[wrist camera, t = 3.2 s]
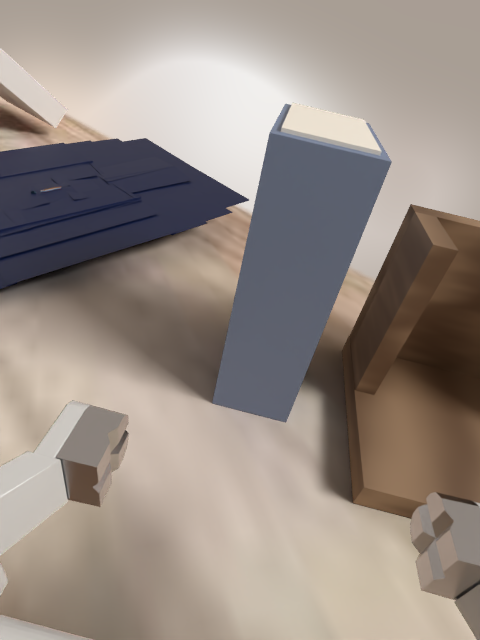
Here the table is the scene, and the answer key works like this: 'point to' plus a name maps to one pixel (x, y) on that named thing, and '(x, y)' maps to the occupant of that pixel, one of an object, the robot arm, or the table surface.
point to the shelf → (417, 369)
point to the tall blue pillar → (297, 253)
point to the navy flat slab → (96, 202)
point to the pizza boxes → (28, 92)
